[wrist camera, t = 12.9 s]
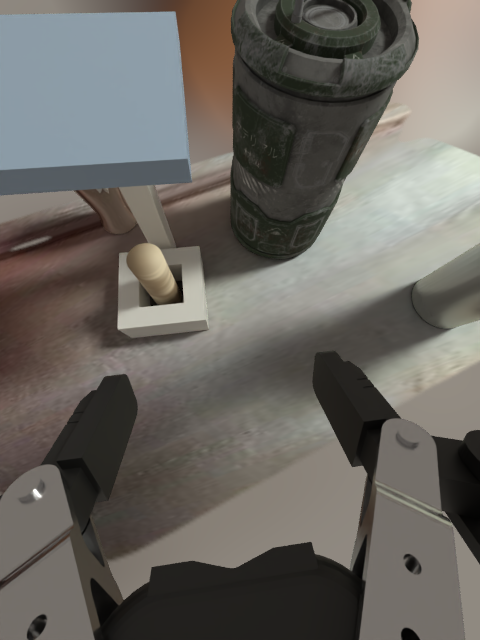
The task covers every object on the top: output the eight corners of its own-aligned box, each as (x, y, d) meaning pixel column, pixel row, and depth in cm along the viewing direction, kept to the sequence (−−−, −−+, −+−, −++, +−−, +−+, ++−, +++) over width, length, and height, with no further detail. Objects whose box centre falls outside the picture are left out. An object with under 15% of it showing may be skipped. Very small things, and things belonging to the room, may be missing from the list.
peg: (179, 285, 40) (158, 239, 28) (185, 307, 39) (166, 269, 27) (154, 291, 39) (123, 247, 28) (159, 314, 38) (129, 278, 27)
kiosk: (123, 339, 37) (-114, 209, 11) (124, 249, 41) (-43, 15, 16) (217, 328, 38) (189, 188, 12) (208, 242, 42) (175, 11, 17)
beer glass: (94, 234, 42) (24, 149, 28) (106, 201, 44) (46, 107, 30) (134, 239, 42) (85, 157, 28) (144, 206, 44) (103, 114, 30)
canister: (267, 279, 41) (338, 51, 14) (212, 214, 44) (185, -67, 17) (336, 232, 44) (500, -24, 17) (280, 175, 47) (344, -110, 21)
